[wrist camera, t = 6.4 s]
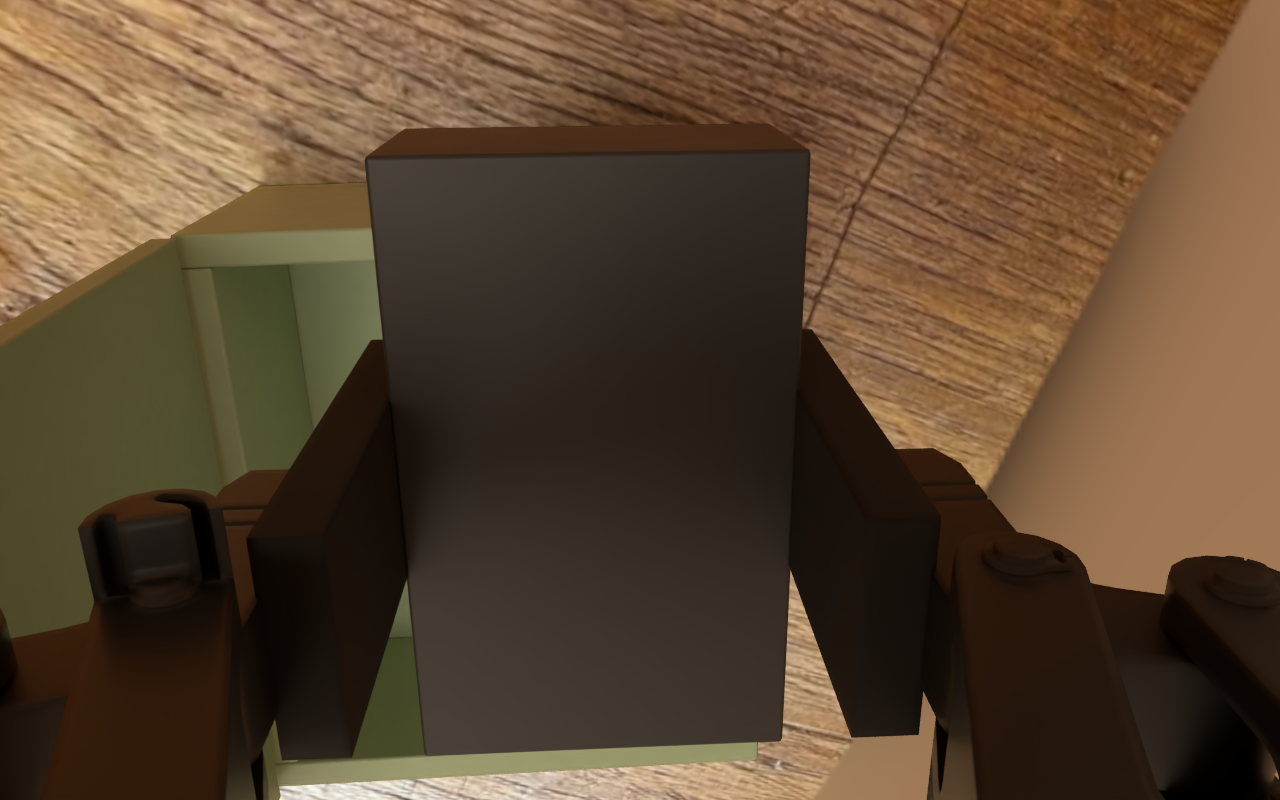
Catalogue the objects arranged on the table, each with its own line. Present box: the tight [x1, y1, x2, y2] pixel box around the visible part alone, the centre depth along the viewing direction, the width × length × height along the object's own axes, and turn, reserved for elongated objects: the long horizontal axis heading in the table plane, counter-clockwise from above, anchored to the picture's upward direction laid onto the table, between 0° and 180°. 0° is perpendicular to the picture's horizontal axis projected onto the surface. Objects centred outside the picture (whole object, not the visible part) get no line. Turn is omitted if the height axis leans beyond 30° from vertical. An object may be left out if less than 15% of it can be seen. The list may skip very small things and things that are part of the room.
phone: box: [365, 123, 811, 756], centre depth 16 cm, size 6×9×3 cm, turn 1°
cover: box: [0, 239, 280, 800], centre depth 19 cm, size 14×16×1 cm
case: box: [171, 182, 758, 786], centre depth 30 cm, size 14×16×7 cm
